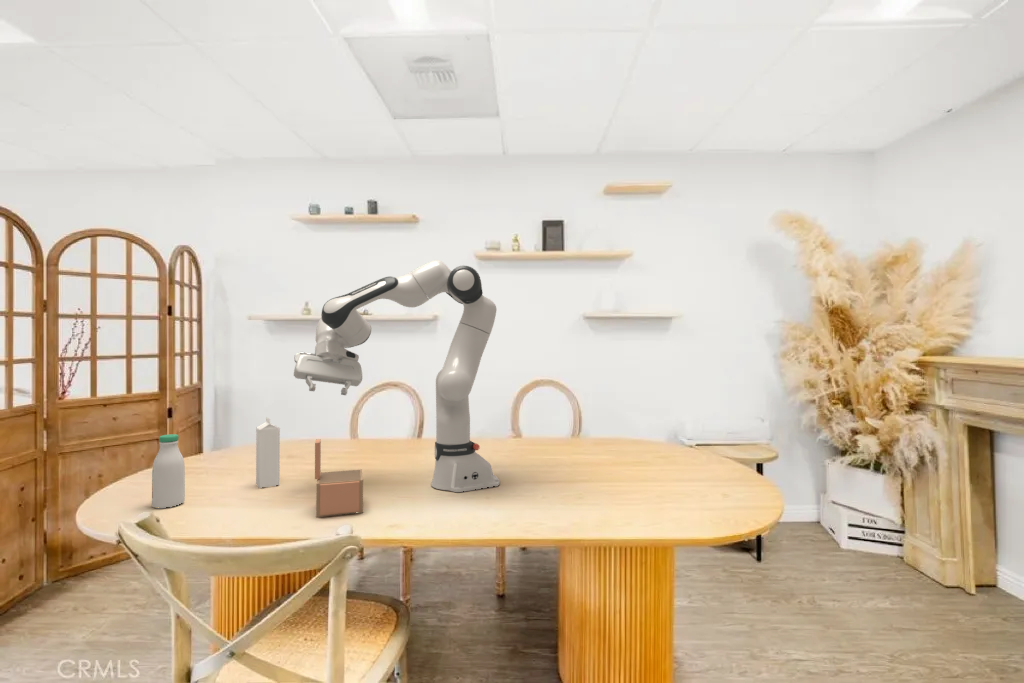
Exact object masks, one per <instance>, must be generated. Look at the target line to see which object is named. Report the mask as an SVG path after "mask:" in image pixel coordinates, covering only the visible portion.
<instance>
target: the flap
mask: <svg viewBox="0 0 1024 683" xmlns="http://www.w3.org/2000/svg"><path fill="white" fill-rule="evenodd" d="M321 442H322V440H321V439H319V438H318V439H316V440H315V442H314V480H317V479H320V475H321V468H322V467H321V466H322V465H321V464H322V463H321V456H322V455H321V453H322V450H321V447H322V445H321Z"/></svg>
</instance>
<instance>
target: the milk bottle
mask: <svg viewBox="0 0 1024 683" xmlns="http://www.w3.org/2000/svg"><path fill="white" fill-rule="evenodd" d="M179 437H180V436H179V434H175V433H173V434H171V433H170V434H163V435H160V436H159V437H158V442H159V450H158V452H157V454H156V456H155V457H154V460H153V463H152V473H151V474H152V477H151V478H152V479H151V506H152V508H154V507H159V508H158V509H167V508H166V507H170V508H173V507H172V506H175V507H177V506H176V505H178V506H180V505H179V504H181V503H183V502H184V503H185V501H186V500H185V499H186V497H185V496H186V495H185V494H186V488H185V486H186V483H185V482H186V480H185V478H186V472H185V471H186V470H185V467H186V466H185V459H184V457H183V455H182V453H181V451H180V448H179V446H178V443H179ZM184 503H183V504H184ZM181 505H182V504H181Z"/></svg>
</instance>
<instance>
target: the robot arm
mask: <svg viewBox="0 0 1024 683" xmlns="http://www.w3.org/2000/svg"><path fill="white" fill-rule="evenodd" d="M482 285H483V284H482V280H481V277H480V274H479V273H478V271H477V270H476V269H474V267H472V266H469V265H460V266H456V267H455V268H454V269H452V270H451V269H450V268H449V267H448V265H447V264H446V263H445V262H443V261H442V260H438V259H434V260H431V261H428V262H427V263H424V264H422V265H420V266H418V267H417V268H414V269H413V270H411V271H409V272H408V273H406V274H403V275H401V276H385V277H382V278H380V279H376V280H375V281H373V282H370V283H369V284H366V285H363V286H361V287H360V288H357V289H355V290H352V291H351V292H348V293H346V294H342V295H339V296H335V297H333V298H330V299H329V300H327V301H326V302H325V303H324V304H323V306H322V309H321V317H320V319H319V320H318V322H317V325H316V331H315V342H316V345H315V347H314V353H310V352H304V351H300V352H298V353H295V355H294V363H295V366H294V370H293V377H294V378H295V379H298V380H299V379H300V380H305V383H306V385H307V386H308V391H309V392H315V390H316V388H317V387H316V386H317V384H316V383H313V381H315V382H319V383H321V382H322V383H328V384H337V385H344V387H342V388H341V390H340V396H347V394H348V389H350V387H351V386H353V387H358V386H360V384H361V383H362V381H363V369H362V365H361V364H360V362H359V356H360V355H359V354H357V353H355V352H353V351H350V350H348V349H349V348H354V347H357V346H361V345H363V344H365V343H366V342H367V341H368V339H369V338H370V335H371V333H372V326H371V324H370V323H369V321H367V320H366V318H365V316H363V315H362V314H361V313H360V312H359V311H358V309H360V308H362V307H365V306H367V305H369V304H371V303H373V302H376V301H377V300H382V299H383V300H389V301H392V302H395V303H397V304H399V305H400V306H403V307H406V308H416V307H419V306H422V305H424V304H425V303H427V302H428V301H430V300H431V299H433V298H434V297H436V296H438V295H439V294H442V293H446V294H447V295H448V296H449V297H450V298H452V299H453V300H454V301H455V302H457V303H458V304H461V305H463V310H462V311H463V312H462V315H461V317H460V320H459V323H458V325H457V328H456V330H455V331H454V335H453V338H452V341H451V342H450V346H449V349H448V352H447V354H446V357H445V360H444V364H443V367H442V369H441V370H440V371H439V372H438V373H437V374H436V378H435V411H436V412H435V413H436V414H435V415H436V416H435V418H436V421H435V422H436V424H435V426H436V428H435V429H436V432H435V433H436V439H435V442H434V459H435V465H434V471H433V476H432V480H431V484H430V485H431V487H432V488H434V489H437V490H442V491H449V492H450V491H451V492H455V493H464V492H469V491H476V490H482V489H481V488H483V489H488V488H487V487H489V488H493V486H495V487H499V486H498V485H500V483H501V482H500V479H499V477H498V476H496V475H494V473H493V468H492V465H491V463H490V462H489V461H488V460H486V459H485V458H484V457H482V455H480V454H478V452H476V451H479V450H480V448H481V447H480V445H479V443H476V442H474V441H472V440H471V416H470V414H471V413H470V401H469V395H470V393H471V391H472V388H473V385H474V382H475V380H476V377H477V373H478V371H479V366H480V363H481V361H482V356H483V354H484V352H485V349H486V347H487V344H488V341H489V338H490V336H491V334H492V331H493V327H494V324H495V321H496V320H495V319H496V315H497V305H496V304H495V302H494V301H493V300H492V299H491V298H488V297H487V296H484V295H483V294H484V293H483V287H482ZM475 489H476V490H475ZM463 491H464V492H463Z"/></svg>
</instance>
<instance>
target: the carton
mask: <svg viewBox="0 0 1024 683" xmlns="http://www.w3.org/2000/svg"><path fill="white" fill-rule="evenodd" d="M363 476H364V475H363V469H361V468H360V469H347V470H335V471H322V472H321V475H320V479H316V486H315V490H316V491H315V492H316V496H315V497H316V498H315V500H316V501H315V506H316V508H315V510H316V513H315V514H316V516H315V517H316V518H324V517H325V518H326V517H332V516H333V517H334V516H335V517H336V516H343V515H342V514H345V515H349V514H348V513H355V514H357V513H356V512H363V513H364V477H363Z"/></svg>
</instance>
